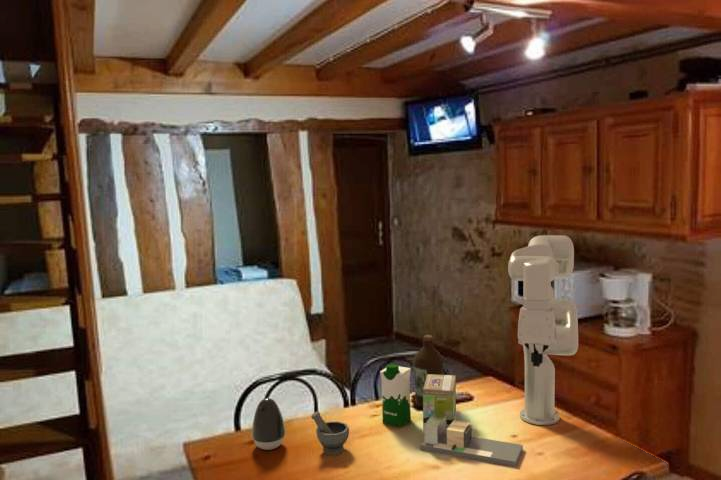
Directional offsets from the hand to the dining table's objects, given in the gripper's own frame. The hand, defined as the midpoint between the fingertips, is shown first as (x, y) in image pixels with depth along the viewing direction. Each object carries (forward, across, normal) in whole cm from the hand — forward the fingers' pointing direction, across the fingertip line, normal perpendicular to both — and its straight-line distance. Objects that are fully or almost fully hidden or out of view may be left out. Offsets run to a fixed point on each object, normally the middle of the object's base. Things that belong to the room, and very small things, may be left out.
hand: (536, 365), depth 172 cm
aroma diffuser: (+25, -74, -32) cm, 85 cm away
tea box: (+26, -32, +4) cm, 41 cm away
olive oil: (+26, -42, +18) cm, 53 cm away
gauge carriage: (+24, -21, -11) cm, 33 cm away
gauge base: (+25, -17, -9) cm, 32 cm away
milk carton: (+26, -46, 0) cm, 53 cm away
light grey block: (+24, -28, -10) cm, 38 cm away
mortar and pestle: (+25, -56, -26) cm, 67 cm away
